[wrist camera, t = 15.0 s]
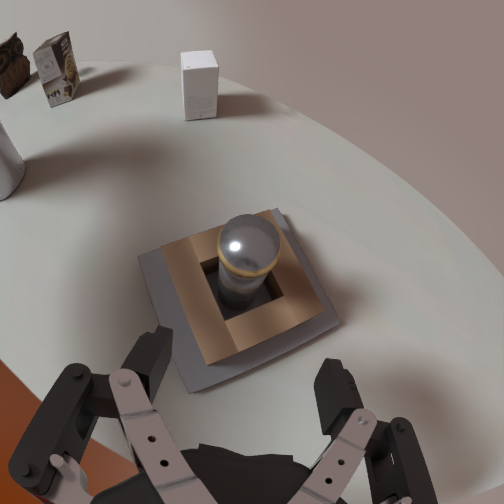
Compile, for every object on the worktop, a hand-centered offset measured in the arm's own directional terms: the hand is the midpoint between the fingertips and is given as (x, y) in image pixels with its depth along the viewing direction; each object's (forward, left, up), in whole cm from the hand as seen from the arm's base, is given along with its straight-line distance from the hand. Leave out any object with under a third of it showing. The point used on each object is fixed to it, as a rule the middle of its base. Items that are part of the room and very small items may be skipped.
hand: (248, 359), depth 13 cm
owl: (-39, +93, -16) cm, 102 cm away
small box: (+11, +41, -16) cm, 45 cm away
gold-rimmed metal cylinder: (+4, +7, -14) cm, 16 cm away
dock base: (+4, +7, -15) cm, 17 cm away
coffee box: (-16, +65, -16) cm, 69 cm away
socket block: (+4, +7, -14) cm, 16 cm away
